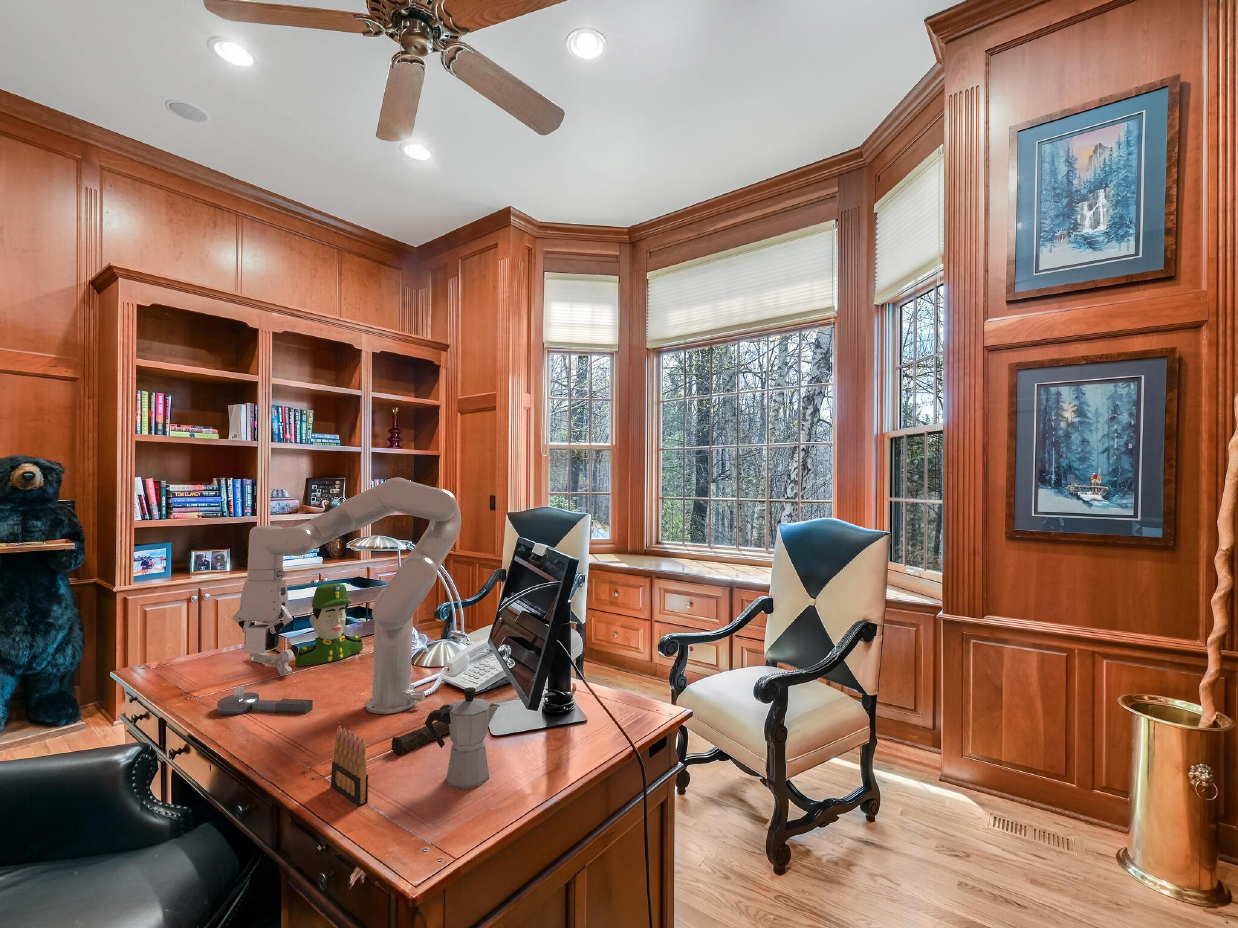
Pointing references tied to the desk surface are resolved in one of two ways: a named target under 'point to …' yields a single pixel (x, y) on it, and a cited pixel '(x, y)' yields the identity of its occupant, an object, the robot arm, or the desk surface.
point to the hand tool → (417, 738)
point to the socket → (257, 638)
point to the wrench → (275, 660)
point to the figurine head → (329, 628)
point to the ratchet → (259, 704)
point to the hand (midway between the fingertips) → (261, 647)
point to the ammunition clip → (350, 767)
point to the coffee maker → (465, 738)
